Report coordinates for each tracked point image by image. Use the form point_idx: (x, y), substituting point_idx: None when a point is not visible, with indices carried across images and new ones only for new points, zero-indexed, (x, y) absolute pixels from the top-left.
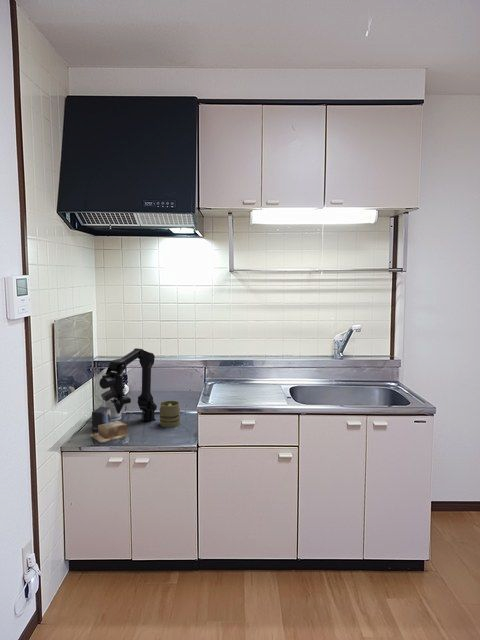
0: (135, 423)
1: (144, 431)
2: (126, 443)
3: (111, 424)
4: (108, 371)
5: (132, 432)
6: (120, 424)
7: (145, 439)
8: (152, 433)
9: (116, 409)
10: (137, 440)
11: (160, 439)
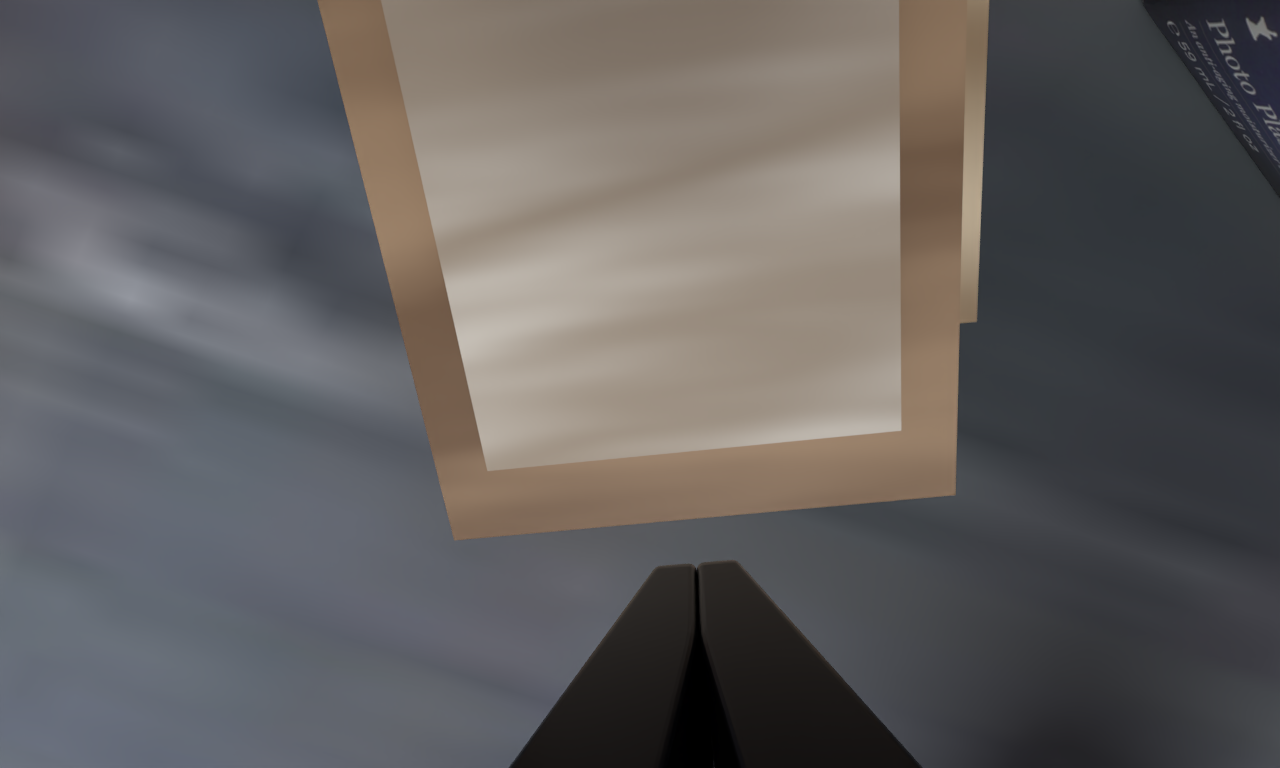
0: (1063, 743)
1: (536, 710)
2: (5, 233)
3: (665, 147)
4: None
5: (601, 541)
6: (502, 395)
7: (116, 588)
8: (369, 765)
9: (724, 694)
10: (111, 465)
11: (35, 754)
